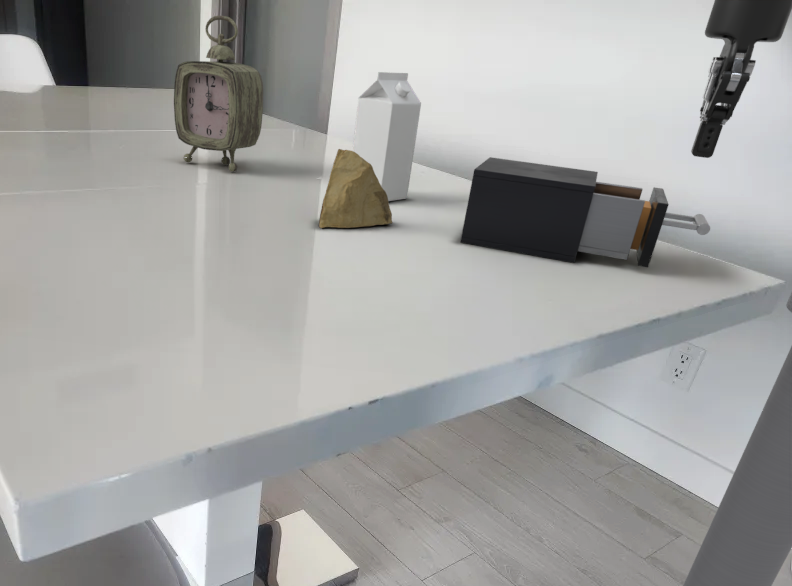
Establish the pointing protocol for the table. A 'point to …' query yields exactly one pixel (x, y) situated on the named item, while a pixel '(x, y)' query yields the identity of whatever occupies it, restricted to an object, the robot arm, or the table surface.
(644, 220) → the cardboard box
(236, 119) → the tabletop clock
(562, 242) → the black drawer cabinet
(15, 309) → the table surface
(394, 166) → the milk carton
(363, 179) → the rock
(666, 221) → the drawer
